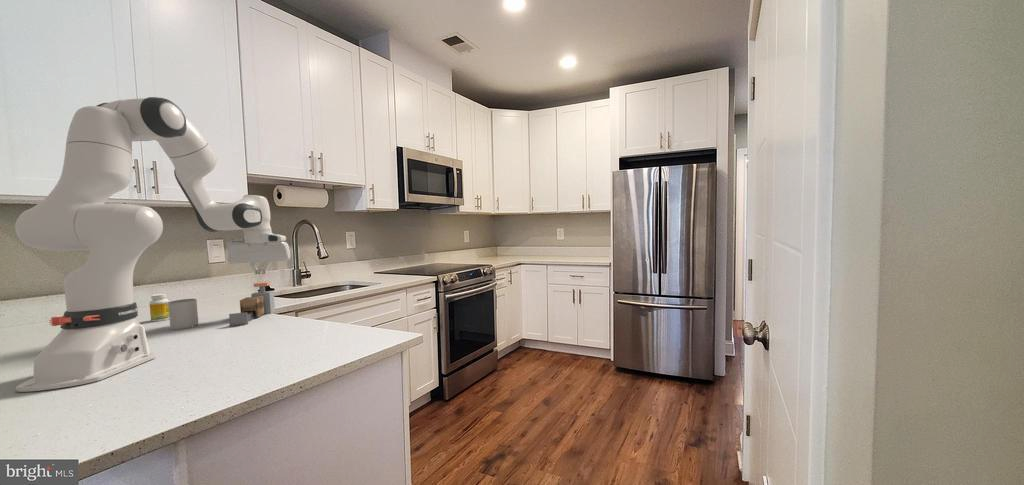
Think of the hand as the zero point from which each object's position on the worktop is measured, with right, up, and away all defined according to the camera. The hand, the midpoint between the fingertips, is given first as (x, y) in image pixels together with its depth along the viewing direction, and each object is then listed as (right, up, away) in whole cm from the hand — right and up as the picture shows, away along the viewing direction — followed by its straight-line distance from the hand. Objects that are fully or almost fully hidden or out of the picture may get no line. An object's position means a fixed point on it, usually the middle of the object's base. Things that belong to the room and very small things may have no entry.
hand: (261, 273), depth 143 cm
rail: (+2, -16, -10) cm, 18 cm away
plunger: (0, -9, 0) cm, 9 cm away
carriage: (+1, -15, -6) cm, 16 cm away
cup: (-16, -17, -15) cm, 28 cm away
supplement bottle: (-35, -17, -4) cm, 39 cm away
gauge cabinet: (+1, -15, +1) cm, 15 cm away
